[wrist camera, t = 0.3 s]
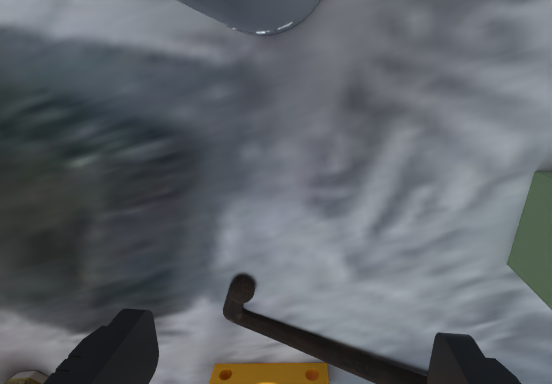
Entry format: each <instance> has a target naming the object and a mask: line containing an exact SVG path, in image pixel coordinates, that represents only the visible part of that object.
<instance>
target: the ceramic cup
mask: <svg viewBox="0 0 552 384" xmlns="http://www.w3.org/2000/svg"><path fill="white" fill-rule="evenodd" d="M48 378H49V377H48V376H46V375H44V374H42V373H40V372H38V371H25V372H19V373H18V374H16V375H15V376H13V377H12V378H11V379H10V380H8V381H7V382H6V383H4V384H43V383H44V382H45V381H46V380H47V379H48Z"/></svg>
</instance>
